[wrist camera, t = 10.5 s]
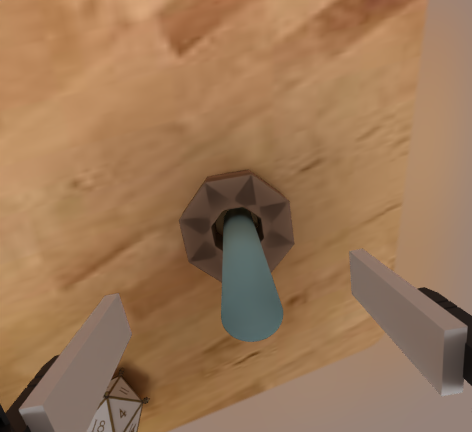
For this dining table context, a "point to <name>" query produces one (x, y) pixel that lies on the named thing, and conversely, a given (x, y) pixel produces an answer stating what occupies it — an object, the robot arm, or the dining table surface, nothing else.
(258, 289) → the teal rounded stick
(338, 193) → the dining table surface
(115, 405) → the game die
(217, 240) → the bead
